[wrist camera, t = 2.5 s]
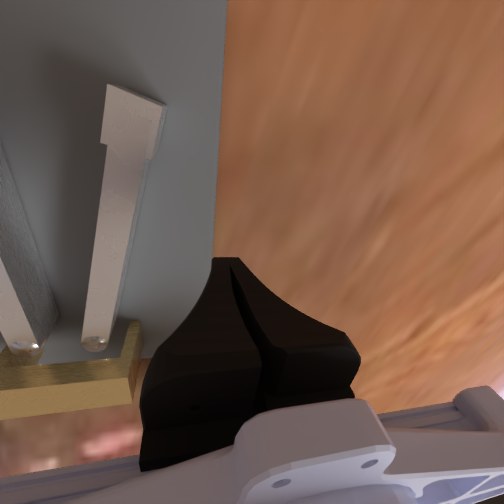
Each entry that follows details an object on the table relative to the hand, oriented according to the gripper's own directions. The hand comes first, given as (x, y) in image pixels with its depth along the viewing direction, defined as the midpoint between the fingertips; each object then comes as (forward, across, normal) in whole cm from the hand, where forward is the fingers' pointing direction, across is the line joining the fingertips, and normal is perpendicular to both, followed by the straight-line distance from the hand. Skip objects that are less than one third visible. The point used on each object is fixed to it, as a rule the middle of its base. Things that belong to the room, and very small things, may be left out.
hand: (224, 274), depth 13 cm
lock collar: (+7, +10, +10) cm, 16 cm away
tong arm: (+6, +6, +1) cm, 9 cm away
